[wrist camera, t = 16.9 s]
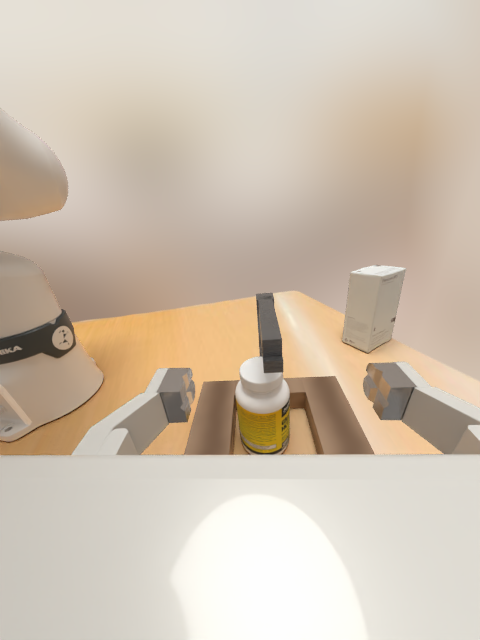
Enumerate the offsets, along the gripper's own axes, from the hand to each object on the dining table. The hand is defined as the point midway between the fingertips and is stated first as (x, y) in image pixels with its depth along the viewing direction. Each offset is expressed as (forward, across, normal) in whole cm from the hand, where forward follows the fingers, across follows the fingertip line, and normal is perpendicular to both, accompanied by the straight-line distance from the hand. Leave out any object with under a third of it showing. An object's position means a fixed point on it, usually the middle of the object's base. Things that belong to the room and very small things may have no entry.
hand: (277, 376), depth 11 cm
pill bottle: (+11, 0, +20) cm, 23 cm away
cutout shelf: (+12, -1, +20) cm, 23 cm away
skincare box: (+32, -22, +20) cm, 44 cm away
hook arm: (+12, -1, +20) cm, 23 cm away
